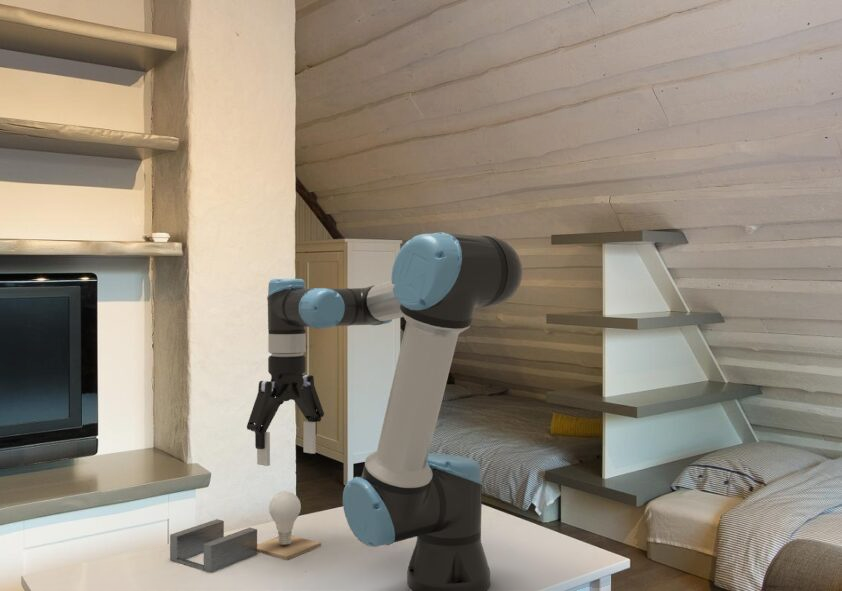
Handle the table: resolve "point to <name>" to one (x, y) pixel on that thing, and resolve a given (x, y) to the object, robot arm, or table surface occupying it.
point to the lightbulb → (284, 514)
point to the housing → (212, 545)
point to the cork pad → (287, 547)
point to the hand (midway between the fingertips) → (287, 458)
